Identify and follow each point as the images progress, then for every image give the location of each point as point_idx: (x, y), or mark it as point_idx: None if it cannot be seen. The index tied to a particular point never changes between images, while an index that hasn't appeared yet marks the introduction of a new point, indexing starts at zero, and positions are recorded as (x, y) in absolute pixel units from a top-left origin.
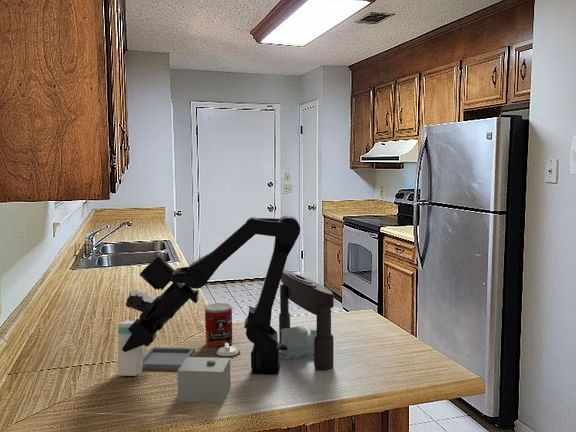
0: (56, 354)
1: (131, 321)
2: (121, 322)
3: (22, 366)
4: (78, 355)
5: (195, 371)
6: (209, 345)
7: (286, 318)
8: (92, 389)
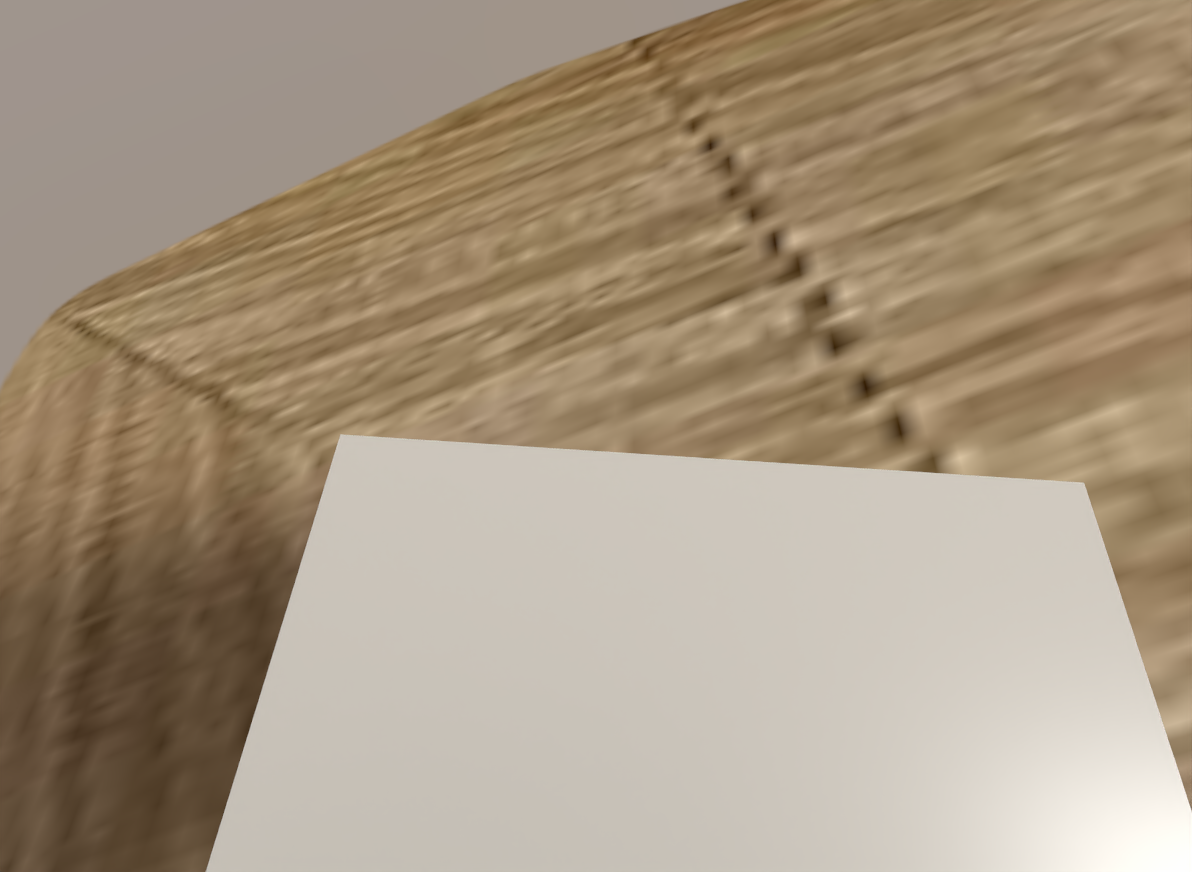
0: (961, 67)
1: (969, 853)
2: (613, 452)
3: (738, 30)
4: (984, 177)
5: None
6: None
7: None
8: None
